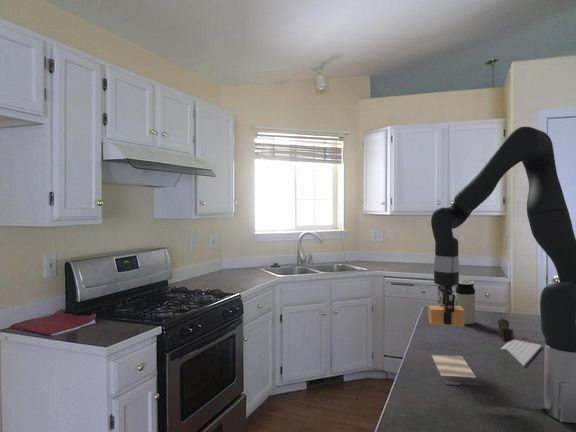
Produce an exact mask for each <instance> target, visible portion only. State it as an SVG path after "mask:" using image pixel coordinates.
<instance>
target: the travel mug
mask: <svg viewBox="0 0 576 432" xmlns="http://www.w3.org/2000/svg"><path fill="white" fill-rule="evenodd" d="M474 284H475V281H472V280H465V279H464V280H463V279H460V280H459V284H458V285H456V287H455V292H454V295H455V304H454V306H461V307H462V308H463V309H464V325H474V324H475V323H476V290H475V287H474V286H475V285H474Z"/></svg>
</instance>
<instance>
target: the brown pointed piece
mask: <svg viewBox="0 0 576 432" xmlns="http://www.w3.org/2000/svg"><path fill="white" fill-rule="evenodd" d="M497 325H498V328H499V335H500V338H501V340H502V341H505V342H506V341H508V339H509V337H508V335H509V327H510V326H509V325H510V323H509V321H508V320H507V319H503V318H502V319H499V320H497ZM507 338H508V339H507Z"/></svg>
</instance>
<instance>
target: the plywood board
mask: <svg viewBox="0 0 576 432" xmlns="http://www.w3.org/2000/svg"><path fill="white" fill-rule="evenodd" d="M431 358H432V359H433V362H434V363H435V366H436V368H437V370H438V372H439V375H440V376H441V377H442V376H443V377H456V378H457V377H460V378H473V379H474V378H477V376H476V375H475V373H474V372H473V370H472V369H471V367H470V366H469V364H468V363H467V361H466V360H465V358H464V357H463V356H461V355H444V354H443V355H441V354H439V355H438V354H431Z"/></svg>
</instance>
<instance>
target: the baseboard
mask: <svg viewBox="0 0 576 432" xmlns="http://www.w3.org/2000/svg"><path fill="white" fill-rule="evenodd" d="M509 338H512V336H511V335H510V337H508V338H507V340H508V341H507V342H506V343H505V344H504V345H503V346H502V347H501V348H500V349H501V350H507V351H508V352H509V354H511V355H512V356H513V357H514V358H515V360H517V362H519V363H520V364H521V365H522V366H523V367H526V366H527V364H528V363H529V362H530V361H531V360H532V359H533V357H535V356H536V355H537V353H538V351H540V349H542V346H543V345H542V344H540V343H539V344H537V343H536V341H533V342H534V343H532V342H531V340H529V338H527V337H521V338H518V339H520V340H517V339H515V338H516V337H514V336H513V338H514V339H509ZM523 340H524V341H523ZM528 341H530V342H528Z"/></svg>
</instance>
